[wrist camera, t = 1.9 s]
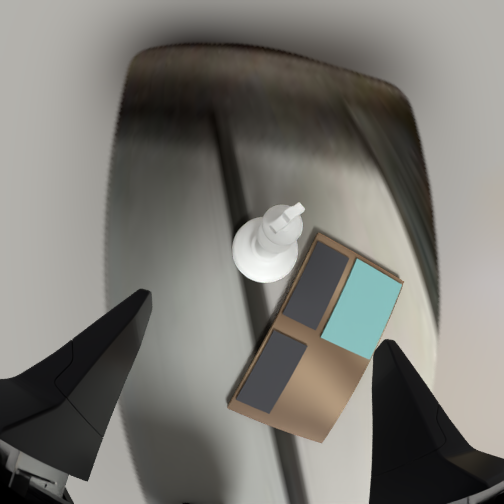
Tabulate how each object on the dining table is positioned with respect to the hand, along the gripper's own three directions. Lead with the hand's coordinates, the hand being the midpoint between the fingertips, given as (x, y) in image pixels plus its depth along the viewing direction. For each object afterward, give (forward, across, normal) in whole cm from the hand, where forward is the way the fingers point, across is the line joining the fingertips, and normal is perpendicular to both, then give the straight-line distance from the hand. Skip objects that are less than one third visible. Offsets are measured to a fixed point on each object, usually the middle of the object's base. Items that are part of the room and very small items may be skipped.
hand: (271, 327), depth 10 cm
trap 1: (+9, -4, +6) cm, 12 cm away
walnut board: (+7, -6, +9) cm, 13 cm away
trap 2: (+4, -2, +10) cm, 12 cm away
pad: (+8, -8, +6) cm, 14 cm away
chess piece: (+11, 0, +5) cm, 12 cm away
